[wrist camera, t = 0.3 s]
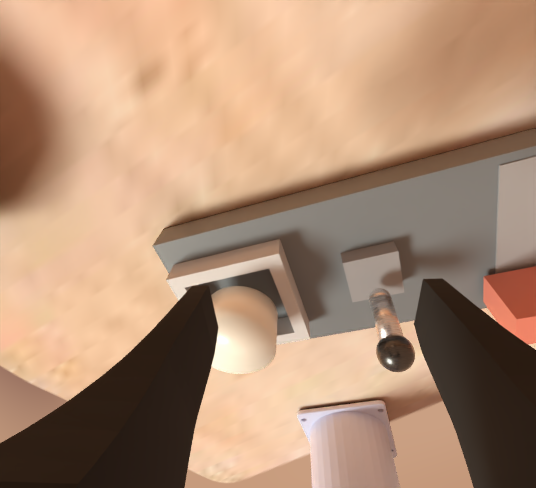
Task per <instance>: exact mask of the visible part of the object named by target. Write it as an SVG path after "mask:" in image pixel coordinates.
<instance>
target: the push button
mask: <svg viewBox="0 0 536 488" xmlns="http://www.w3.org/2000/svg"><path fill="white" fill-rule="evenodd" d="M211 297H212V301H213V306H214V310H215V314H216V319H217V323H218V327H219V328H218V335H217V342H216V348H215V355H214V358H213V362H212V366H211V367H213V368H215V369H218V370H220V371H223V372H227V373H233V374H247V373H253V372H256V371H259V370H261V369H263V368H265V367H266V366H268V365H269V364H270V363H271V362H272V360H273V359H274V357H275V354H276V341H277V320H278V313H277V309H276V306H275V304H274V303H273V301H272V300H271V299H270V298H269V297H268V296H266V295H265V294H264V293H262V292H260V291H258V290H256V289H253V288H250V287H244V286H231V287H226V288H222V289H220V290H218V291H216V292H215V293H213V294H212V295H211Z"/></svg>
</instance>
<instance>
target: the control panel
mask: <svg viewBox="0 0 536 488" xmlns="http://www.w3.org/2000/svg"><path fill="white" fill-rule="evenodd" d="M153 247H154V249H155V251H156V252H157V254H158V256H159V257H160V259H161V261H162V262H163V264H164V266H165V268H166V269H167V271H168V273H169V275H168V277H167V279H166V281H167V282H168V284H169V286H170V287H171V289H172V291H173V292H174V294H175V296H176V297H177V299H178V301H179V300H180V299H181V298H182V296H183V295H184V294H185V293H186V292H187V291H188V290H189V289H190V288H191V287H192V286H207V285H209V288H210V293H211V295H212V294H213V293H215V292H216V291H218V290H220V289H222V288H226V287H231V286H244V287H250V288H253V289H256V290H258V291H260V292H262V293H264V294H265V295H266V296H268V297H269V298H270V299H271V300H272V301H273V303H274V304H275V306H276V309H277V313H278V320H277V341H276V345H279V344H285V343H290V342H296V341H302V340H308V339H311V338H316V337H322V336H328V335H333V334H339V333H345V332H351V331H356V330H362V329H368V328H373V327H376V326H375V322H374V318H373V315H372V311H371V307H370V303H369V295H370V293H371V292H372V291H373V290H374V289H377V288H382V289H385V290H387V291H388V292H389V293H390V295H391V297H392V300H393V304H394V307H395V310H396V314H397V317H398V320H399V323H402V322H408V321H413V320H415V317H416V312H417V307H418V301H419V296H420V291H421V286H422V281H423V279H438V278H443V279H444V280H445V281H446V282H448V283H449V284H450V285H451V286H453V287H454V288H455V289H456V290H458V291H459V292H460V293H461V294H462V295H464V296H465V297H466V298H467V299H469V300H470V301H471V302H472V303H473V304H475V305H476V306H477V307H478V308H480V309H482V308H487V306H486V305H485V303H484V302H483V284H484V276H488V275H493V274H498V273H503V272H508V271H514V270H519V269H524V268H529V267H534V266H536V128H534V129H530V130H526V131H523V132H519V133H515V134H512V135H508V136H504V137H501V138H497V139H493V140H490V141H486V142H482V143H479V144H475V145H471V146H468V147H464V148H460V149H456V150H453V151H449V152H445V153H442V154H438V155H434V156H431V157H427V158H423V159H420V160H416V161H412V162H409V163H405V164H401V165H398V166H394V167H390V168H386V169H383V170H379V171H375V172H372V173H368V174H364V175H361V176H357V177H353V178H350V179H346V180H342V181H339V182H335V183H331V184H328V185H324V186H320V187H317V188H313V189H309V190H305V191H302V192H298V193H294V194H291V195H287V196H283V197H280V198H276V199H272V200H269V201H265V202H261V203H258V204H254V205H250V206H247V207H243V208H239V209H236V210H232V211H228V212H224V213H221V214H217V215H213V216H210V217H206V218H202V219H199V220H195V221H191V222H188V223H184V224H180V225H177V226H173V227H169V228H166V229H163V231H162V232H161V234H160V235H159V237H158V238H157V240H156V242H155V243H154V245H153Z"/></svg>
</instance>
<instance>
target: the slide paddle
mask: <svg viewBox="0 0 536 488" xmlns="http://www.w3.org/2000/svg"><path fill="white" fill-rule="evenodd" d="M483 302H484V303H485V305H486V306H487V308H488V309H489V310H490V312H491V313H492V315H493V316H494V318H495V319H496V320H497V322H498V323H499V324H500V325H501V326H503V327H504V328H505V329H507V330H508V331H510V332H511V333H512V334H514V335H515V336H517V337H518V338H519V339H521V340H522V341H524V342H525V343H526V344H533V343H536V266H534V267H529V268H524V269H519V270H514V271H508V272H503V273H498V274H493V275H488V276H484V284H483Z"/></svg>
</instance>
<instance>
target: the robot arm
mask: <svg viewBox="0 0 536 488" xmlns="http://www.w3.org/2000/svg"><path fill="white" fill-rule="evenodd" d="M414 326H415V329H416V333H417V337H418V340H419V343H420V347H421V350H422V353H423V355H424V358H425V360H426V362H427V365H428V367H429V369H430V372H431V374H432V376H433V379H434V381H435V383H436V386H437V388H438V390H439V392H440V395H441V397H442V399H443V402H444V404H445V406H446V408H447V411H448V413H449V415H450V418H451V420H452V422H453V425H454V428H455V430H456V433H457V436H458V439H459V442H460V445H461V448H462V451H463V454H464V458H465V460H466V464H467V467H468V470H469V473H470V477H471V480H472V483H473V487H474V488H536V350H535V349H534V348H532V347H531V346H529V345H528V344H526V343H525V342H524V341H522V340H521V339H519V338H518V337H517V336H515V335H514V334H512V333H511V332H510V331H508V330H507V329H505V328H504V327H503V326H501V325H500V324H499V323H498V322H496V321H495V320H494V319H492V318H491V317H490V316H488V315H487V314H486V313H485V312H483V311H482V310H481V309H480V308H478V307H477V306H476V305H475V304H473V303H472V302H471V301H470V300H469V299H467V298H466V297H465V296H464V295H462V294H461V293H460V292H459V291H458V290H456V289H455V288H454V287H453V286H451V285H450V284H449V283H448V282H446V281H445V280H444V279H443V278H438V279H423V281H422V286H421V291H420V296H419V301H418V307H417V312H416V317H415V322H414ZM218 328H219V327H218V323H217V319H216V314H215V310H214V306H213V301H212V297H211V293H210V288H209V285H207V286H192V287H191V288H190V289H189V290H188V291H187V292H186V293H185V294H184V295H183V296H182V298H181V299H180V300H179V301H178V302H177V303H176V304H175V306H174V307H173V308H172V309H171V310H170V311H169V312H168V313H167V315H166V316H165V317H164V318H163V319H162V320H161V321H160V322H159V323H158V324H157V325H156V327H155V328H154V329H153V330H152V331H151V332H150V333H149V334H148V335H147V336H146V337H145V338H144V339H143V340H142V341H141V342H140V343H139V344H138V345H137V346H136V347H135V348H134V349H133V350H132V351H131V352H129V353H128V354H127V355H126V356H125V357H124V358H123V359H122V360H121V361H119V362H118V363H117V364H116V365H115V366H113V367H112V368H111V369H110V370H109V371H108V372H106V373H105V374H104V375H103V376H101V377H100V378H99V379H97V380H96V381H95V382H93V383H92V384H91V385H89V386H88V387H87V388H85V389H84V390H83V391H81V392H80V393H79V394H77V395H76V396H75V397H73V398H72V399H71V400H69V401H68V402H66V403H65V404H63V405H62V406H60V407H59V408H57V409H56V410H54V411H53V412H51V413H50V414H48V415H47V416H45V417H44V418H42V419H40V420H39V421H37V422H36V423H35V424H33V425H31V426H29V427H28V428H26V429H25V430H23V431H21V432H19V433H17V434H16V435H14V436H12V437H11V438H9V439H7V440H5V441H4V442H2V443H0V488H184V487H185V480H186V474H187V468H188V462H189V456H190V451H191V445H192V440H193V434H194V429H195V424H196V420H197V416H198V412H199V409H200V405H201V402H202V398H203V394H204V391H205V387H206V384H207V380H208V377H209V373H210V369H211V366H212V362H213V358H214V355H215V348H216V342H217V335H218ZM297 418H298V420H299V422H300V424H301V426H302V428H303V430H304V432H305V434H306V436H307V439H308V441H309V443H310V451H311V473H312V488H400V484H399V481H398V477H397V472H396V467H395V463H394V459H393V458H394V457H396V456H397V453H396V448H395V444H394V440H393V435H392V431H391V427H390V423H389V419H388V414H387V410H386V406H385V403H384V401H382V400H376V401H368V402H360V403H353V404H345V405H337V406H329V407H322V408H314V409H306V410H300V411H298V412H297Z"/></svg>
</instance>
